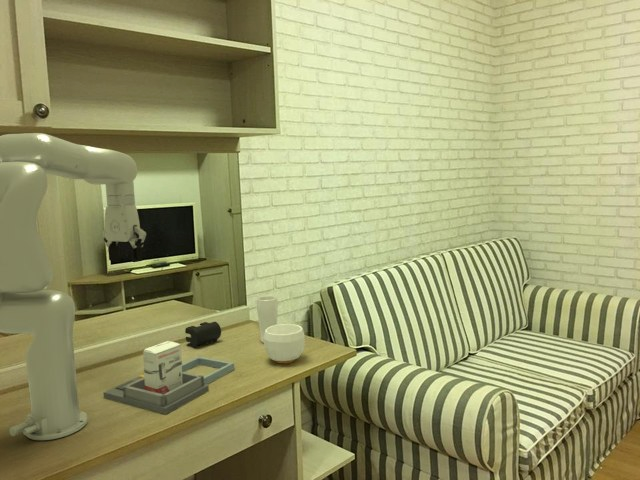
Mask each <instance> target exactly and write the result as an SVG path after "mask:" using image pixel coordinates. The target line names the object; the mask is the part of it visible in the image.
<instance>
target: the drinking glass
mask: <svg viewBox="0 0 640 480" xmlns="http://www.w3.org/2000/svg"><path fill="white" fill-rule="evenodd" d="M256 310H257V311H256V312H257V318H258V325H259V332H260V333H259V335H260V342H261V343H263V344H264V333H265V330H266V329H267V328H268V327H270V326H274V325H278V299H277V296H275V295H262V296H259V297H257V298H256Z"/></svg>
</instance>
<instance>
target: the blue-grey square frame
mask: <svg viewBox="0 0 640 480" xmlns="http://www.w3.org/2000/svg"><path fill="white" fill-rule="evenodd" d="M199 365H200V366H206V367H210V368H215V369H216V370H214V371H213V372H210V373H208V374H206V375H203V376H204V384H205V385H209V384H210V383H213V382H215V381H217V380H218V379H220V378H222V377H224V376H225V375H228V374H229V373H231V372H233V371H235V363H234V362H231V361H224V360H220V359H219V360H218V359H213V358H209V357H204V356H203V357H202V356H197V357H193V359H190V360H188V361H186V362H183V363H182V372H186V371H189V370H191V369H193V368H195V367H197V366H199Z"/></svg>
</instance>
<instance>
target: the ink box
mask: <svg viewBox="0 0 640 480" xmlns="http://www.w3.org/2000/svg"><path fill="white" fill-rule="evenodd" d="M142 355H143V374H144V379H145V390H147V391H151V392H155V393H160V394H165V393H167V392H169V391H171V390H173V389H175V388H177V387H179V386H181V385H183V381H182V364H183V363H182V344H181V343H179V342H175V341H172V340H166V341H164V342H161V343H158V344H156V345H153V346H149V347H146V348H145V349H144V350H143V351H142Z"/></svg>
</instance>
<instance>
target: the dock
mask: <svg viewBox="0 0 640 480" xmlns="http://www.w3.org/2000/svg"><path fill="white" fill-rule="evenodd" d="M204 376H205V375H200V374H195V373H190V372H186V371H185V372H182V381H183V385H181V386H179V387H177V388H175V389H173V390H171V391H169V392H167V393H165V394H160V393H155V392H151V391H147V390H145V379H144V373H143V374H141V375H139V376H136V377H134V378H133V379H130V380H127V381H126V382H124V383H121V384H118V385H116V386H114V387H112V388H110V389H107V390H105V391H103V393H102V394H103V398H104V399H106V400H107V399H108V400H110V401H114V402H117V403H121V404H126V405H129V406H133V407H137V408H141V409H144V410H147V411H151V412H155V413H159V414H162V415H168V414H170V413H171V412H173V411H175V410H177V409H180V407H182V406H184V405H186V404H187V403H189V402H191V401H193V400H195V399H197V398H199V397H200V396H202V395H204V394H205V393H207V392H209V391H210V390H209V384H207V385H205V384H204Z"/></svg>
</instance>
